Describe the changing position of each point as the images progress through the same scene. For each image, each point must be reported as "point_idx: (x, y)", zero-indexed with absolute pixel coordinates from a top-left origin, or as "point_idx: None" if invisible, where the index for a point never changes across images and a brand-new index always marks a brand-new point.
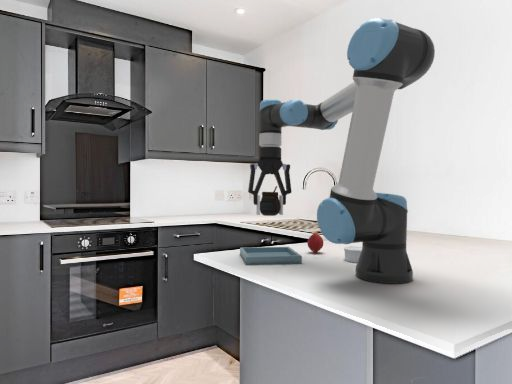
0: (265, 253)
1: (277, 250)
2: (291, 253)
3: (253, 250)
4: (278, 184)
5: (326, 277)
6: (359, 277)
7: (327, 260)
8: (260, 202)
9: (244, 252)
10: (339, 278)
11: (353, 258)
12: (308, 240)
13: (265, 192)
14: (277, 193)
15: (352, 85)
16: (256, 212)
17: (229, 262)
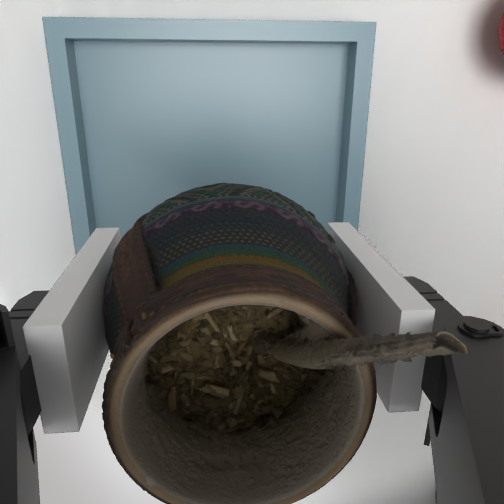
0: (210, 84)
1: (293, 42)
2: (342, 166)
3: (138, 40)
4: (461, 497)
5: (348, 478)
6: (436, 497)
7: (478, 236)
8: (109, 346)
9: (75, 201)
10: (381, 488)
11: None
12: None
13: (153, 494)
14: (344, 451)
15: None
16: (92, 235)
17: (11, 242)
